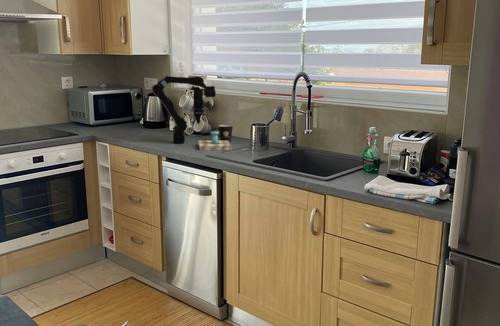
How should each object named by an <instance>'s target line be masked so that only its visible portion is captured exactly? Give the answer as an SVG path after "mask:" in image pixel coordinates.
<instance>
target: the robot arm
mask: <svg viewBox="0 0 500 326" xmlns="http://www.w3.org/2000/svg"><path fill="white" fill-rule="evenodd" d="M168 84H188V85H191V87H190V88H189V89H190V90H191V91H193V92H192V93H193V95H192V96H193V97H192V100H193V105H192V112H193V116H194V118H195V120H196V121H195V122H196V124H197V125H200V123H201V119H202V116H203V115H204V113H205V109H207V110H209V111H210V110H212V107H213V104H212V103H211V101H209V100H207V101H204V97H205V98H216V95H217V93H216V92H217V91H216V87H215V86H214V85H211V86H207V85H206V83H204V78H203V77H201V76H199V75H195V76H189V77H188V76H187V77H186V76H185V77H184V76H168V75H166V76H165V75H164V77H163V78H162V79H161V80H159V81H158V82H157V83H154V84H153V85H152V86H151V87H150V90H151V92H152V93H153V94H154V95H155V96H156V97H157V98H158V99H159V100H160V102H161V103H162V104H163V106H164V107H165V109H166V110H167V112H168V113H169V115H170V116H171V117H172V120H173V122H174V124H175V125H174V127H173V128H172V131H173V132H172V137H173V138H172V139H173V140H172V144H184V143H185V142H186V140H185V137H186V135H185V134H184V133H185V131H186V130H187V128H188V124H187V123H188V122H187V121H186V120H185V118H184V116H183V115H181V116H180V115H179V114H178V112H177V111H176V109H175V108H174V107H173V105H172V104H171V102H170V101H169V99H168V98H167V96H166V93H165V92H164V89H165V88H166V87H167V86H168ZM204 108H205V109H204Z"/></svg>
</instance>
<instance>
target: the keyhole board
mask: <svg viewBox="0 0 500 326" xmlns="http://www.w3.org/2000/svg"><path fill="white" fill-rule="evenodd" d="M198 148H199V151H232V145H231V142H229V141H228V140H219V139H218V144H211V140H201V139H200V140H198Z"/></svg>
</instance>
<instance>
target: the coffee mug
mask: <svg viewBox="0 0 500 326" xmlns="http://www.w3.org/2000/svg"><path fill="white" fill-rule="evenodd" d="M233 127H234V125H231V124H219V125H218V127H214V128H213V129H212V131H215V129H217V131H218V132H219V134H218V137H219V138H220V140H228V141H229V142H230V143H231V142H232V135H233Z"/></svg>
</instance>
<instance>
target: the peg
mask: <svg viewBox="0 0 500 326" xmlns="http://www.w3.org/2000/svg"><path fill="white" fill-rule="evenodd" d="M210 135H211V138H210V139H211V144H218V140H219V139H218V137H219V136H218V135H220V131H219V130H214V131H213V130H211V131H210Z"/></svg>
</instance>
